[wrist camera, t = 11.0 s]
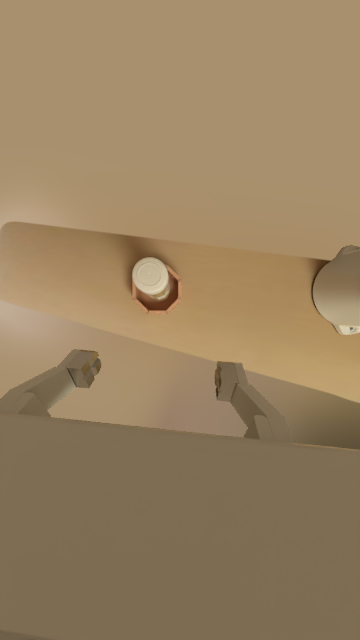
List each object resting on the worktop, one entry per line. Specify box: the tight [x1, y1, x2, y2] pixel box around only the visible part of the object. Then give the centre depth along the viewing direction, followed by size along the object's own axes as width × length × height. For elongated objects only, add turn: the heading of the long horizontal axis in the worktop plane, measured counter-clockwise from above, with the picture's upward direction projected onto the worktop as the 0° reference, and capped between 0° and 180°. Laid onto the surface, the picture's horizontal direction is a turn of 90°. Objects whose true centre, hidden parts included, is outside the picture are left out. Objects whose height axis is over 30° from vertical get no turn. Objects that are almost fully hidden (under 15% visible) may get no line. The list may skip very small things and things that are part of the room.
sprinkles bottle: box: [132, 257, 171, 301], centre depth 27 cm, size 5×5×14 cm
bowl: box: [132, 265, 182, 314], centre depth 33 cm, size 9×9×4 cm
